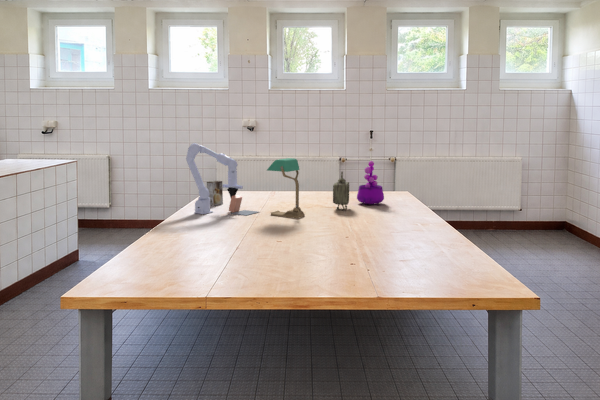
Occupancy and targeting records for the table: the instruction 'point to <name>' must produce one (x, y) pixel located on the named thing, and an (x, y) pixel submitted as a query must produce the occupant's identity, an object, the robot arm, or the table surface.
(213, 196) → the coffee box
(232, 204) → the block
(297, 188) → the banker's lamp
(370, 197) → the decorative plant
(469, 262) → the table surface
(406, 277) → the table surface
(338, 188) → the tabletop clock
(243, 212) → the mat
